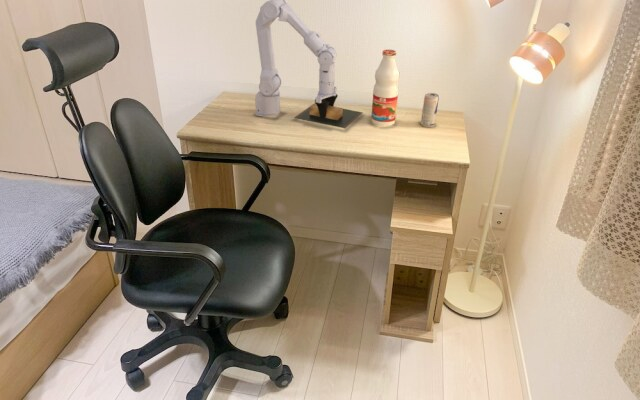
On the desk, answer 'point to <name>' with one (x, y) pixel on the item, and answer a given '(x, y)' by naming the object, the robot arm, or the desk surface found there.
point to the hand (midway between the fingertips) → (325, 114)
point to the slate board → (343, 123)
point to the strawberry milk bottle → (385, 90)
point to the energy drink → (429, 109)
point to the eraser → (331, 115)
